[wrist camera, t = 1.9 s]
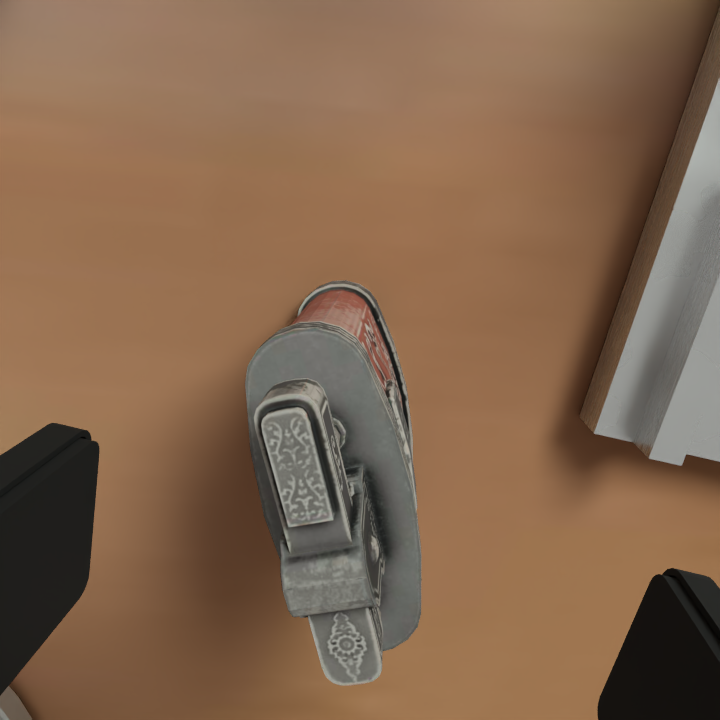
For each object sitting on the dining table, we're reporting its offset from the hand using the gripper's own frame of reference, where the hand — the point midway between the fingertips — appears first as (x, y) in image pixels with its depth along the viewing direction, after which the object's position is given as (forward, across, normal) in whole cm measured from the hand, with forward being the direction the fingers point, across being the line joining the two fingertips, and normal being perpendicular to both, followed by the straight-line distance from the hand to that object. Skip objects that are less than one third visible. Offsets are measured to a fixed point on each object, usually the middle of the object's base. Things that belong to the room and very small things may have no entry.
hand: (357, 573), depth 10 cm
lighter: (+11, +1, +1) cm, 11 cm away
